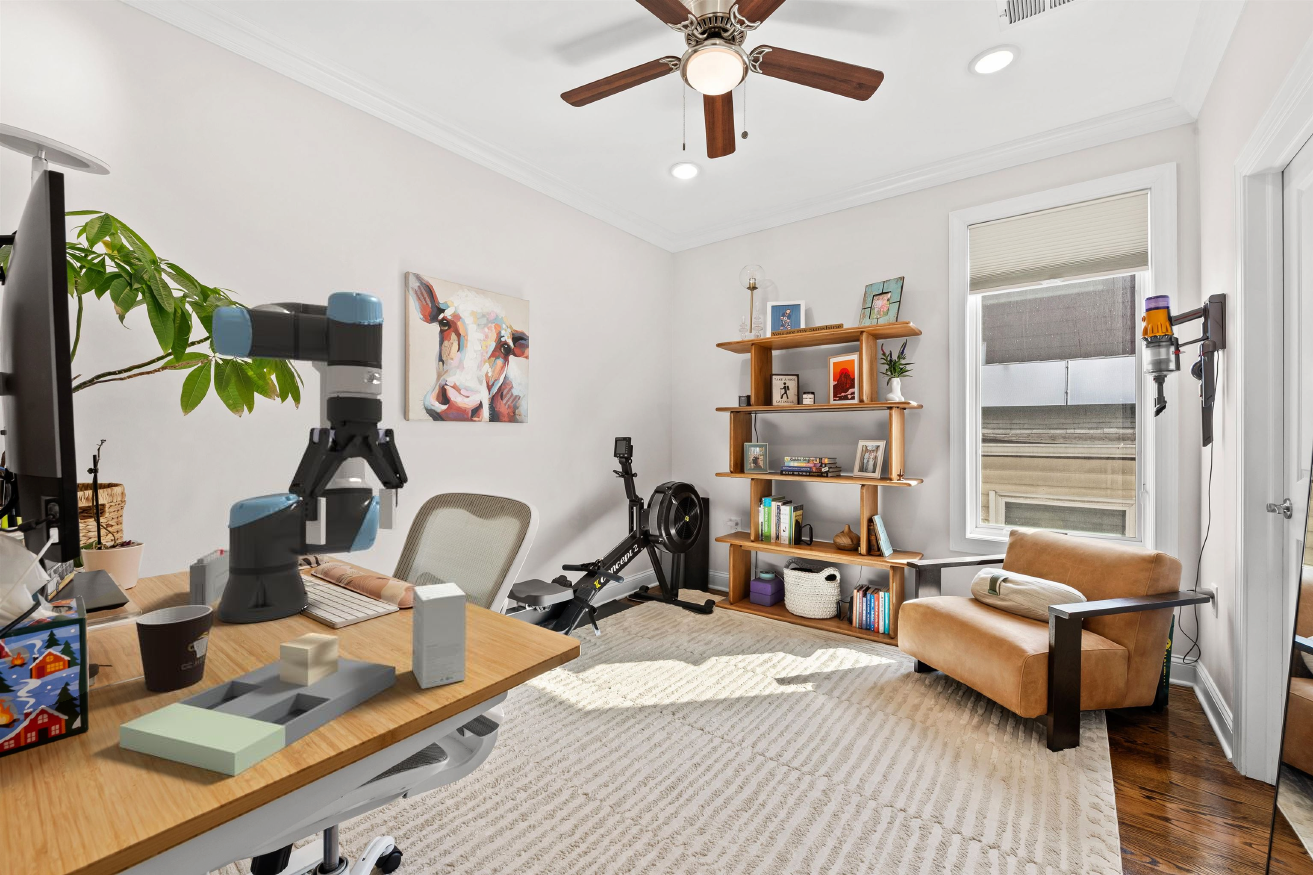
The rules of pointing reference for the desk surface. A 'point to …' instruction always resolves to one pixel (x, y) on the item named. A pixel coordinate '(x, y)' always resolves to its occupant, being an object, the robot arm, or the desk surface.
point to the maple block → (308, 658)
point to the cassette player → (209, 578)
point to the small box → (439, 634)
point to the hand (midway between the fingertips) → (354, 535)
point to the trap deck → (252, 716)
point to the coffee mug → (174, 646)
